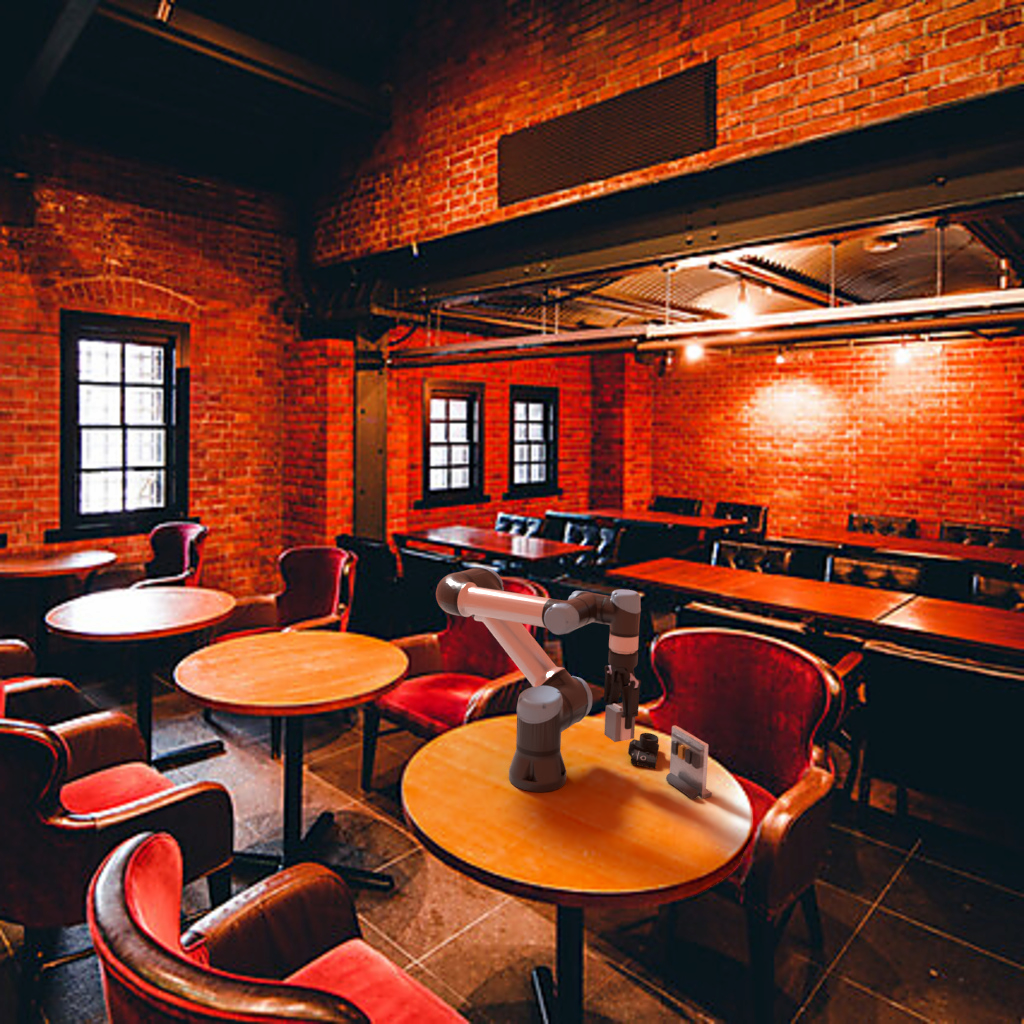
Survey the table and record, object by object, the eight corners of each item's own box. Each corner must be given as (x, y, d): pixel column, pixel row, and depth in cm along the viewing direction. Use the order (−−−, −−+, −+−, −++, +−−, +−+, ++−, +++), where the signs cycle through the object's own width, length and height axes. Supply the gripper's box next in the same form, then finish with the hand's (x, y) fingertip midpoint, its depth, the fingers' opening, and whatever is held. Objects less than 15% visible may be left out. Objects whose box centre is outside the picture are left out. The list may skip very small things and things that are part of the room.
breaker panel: (698, 799, 184) (701, 746, 182) (666, 776, 196) (669, 726, 194) (711, 796, 186) (714, 743, 184) (679, 774, 197) (681, 724, 196)
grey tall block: (614, 742, 190) (616, 710, 189) (604, 734, 194) (605, 703, 193) (637, 737, 193) (638, 706, 192) (626, 730, 197) (627, 699, 196)
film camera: (659, 753, 198) (626, 736, 202) (651, 777, 199) (617, 760, 204) (673, 737, 210) (641, 722, 214) (664, 761, 211) (633, 744, 215)
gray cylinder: (698, 798, 185) (698, 789, 184) (690, 800, 184) (691, 791, 183) (673, 780, 194) (673, 772, 193) (665, 782, 193) (666, 773, 192)
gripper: (656, 658, 184) (651, 746, 187) (616, 638, 200) (612, 720, 203) (631, 661, 181) (626, 751, 183) (592, 641, 197) (588, 724, 200)
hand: (619, 735), depth 193 cm, fingers closed on grey tall block, 5 cm apart
